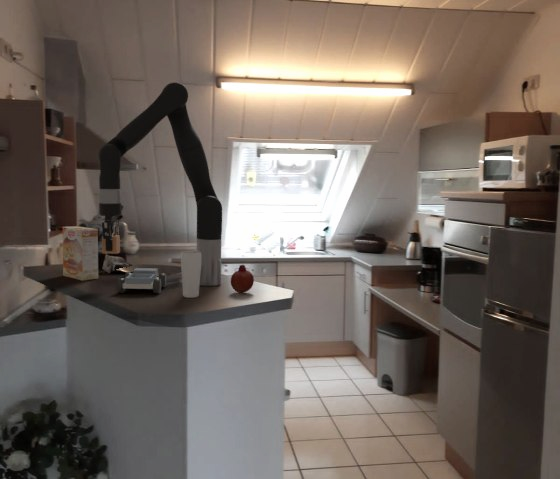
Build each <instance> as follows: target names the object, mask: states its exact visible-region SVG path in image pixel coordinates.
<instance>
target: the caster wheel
mask: <svg viewBox="0 0 560 479" xmlns="http://www.w3.org/2000/svg"><path fill="white" fill-rule="evenodd" d="M130 266H134V265H133V264H131V263H129V262H127V261H126V260H125V258H123V257H121V256H113V255H109V254H105V255H104V260H103V265H102V270H103V271H104V272H106V273H108V274H109V273H110V274H111V272H117V271H116V269H119V268H123V267H126V268H127V267H130Z"/></svg>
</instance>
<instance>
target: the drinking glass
mask: <svg viewBox="0 0 560 479" xmlns="http://www.w3.org/2000/svg"><path fill="white" fill-rule="evenodd" d="M201 261H202V259H201V252H199V251H197V250H186V251H181V252H180V270H181V282H182V295H183V296H182V297H184V298H187V299H194V298H195V299H196V298H199V296H200V286H201V285H200V274H201Z"/></svg>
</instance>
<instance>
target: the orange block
mask: <svg viewBox="0 0 560 479" xmlns="http://www.w3.org/2000/svg"><path fill="white" fill-rule="evenodd" d="M107 236H109V234H107ZM112 245H113V250H112V251H106V240H105V239H103V235H102V236H101V253H102V254H104V255H106V254H107V255H109V254H115V255H116V254H119V253H121V235H113V239H112Z"/></svg>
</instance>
